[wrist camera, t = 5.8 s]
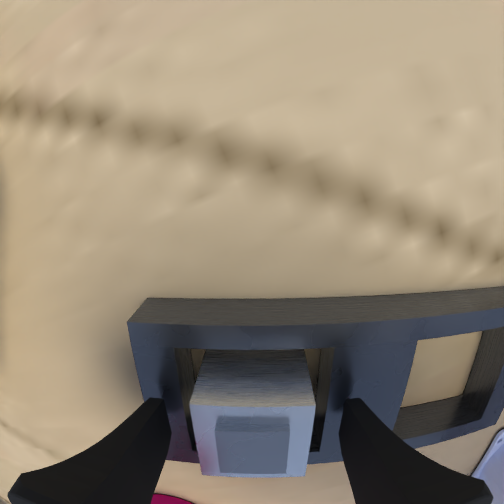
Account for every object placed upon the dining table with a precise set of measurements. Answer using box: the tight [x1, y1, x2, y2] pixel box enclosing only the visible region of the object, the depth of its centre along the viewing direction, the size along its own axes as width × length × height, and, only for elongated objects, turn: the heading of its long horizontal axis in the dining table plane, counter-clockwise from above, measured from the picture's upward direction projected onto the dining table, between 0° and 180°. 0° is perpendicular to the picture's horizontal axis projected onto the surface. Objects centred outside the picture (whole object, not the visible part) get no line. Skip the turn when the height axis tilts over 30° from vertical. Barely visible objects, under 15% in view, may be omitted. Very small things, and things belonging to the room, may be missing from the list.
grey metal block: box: [189, 349, 316, 477], centre depth 12 cm, size 4×4×5 cm
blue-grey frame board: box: [127, 286, 504, 464], centre depth 13 cm, size 8×19×2 cm, turn 91°
